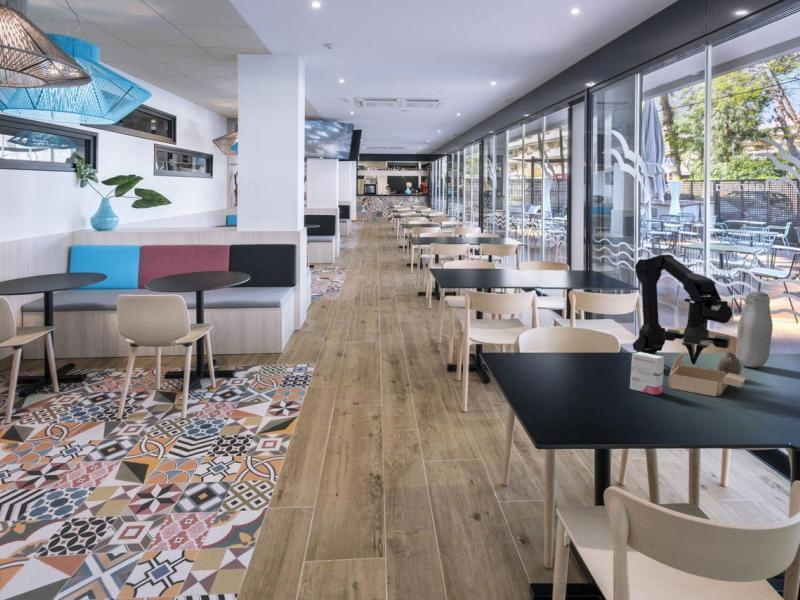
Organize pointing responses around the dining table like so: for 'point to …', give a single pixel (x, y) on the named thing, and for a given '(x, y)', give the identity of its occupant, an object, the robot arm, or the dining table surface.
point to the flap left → (677, 361)
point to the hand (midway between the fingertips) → (693, 364)
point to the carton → (697, 380)
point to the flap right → (734, 379)
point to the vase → (730, 364)
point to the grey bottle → (754, 331)
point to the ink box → (647, 373)
